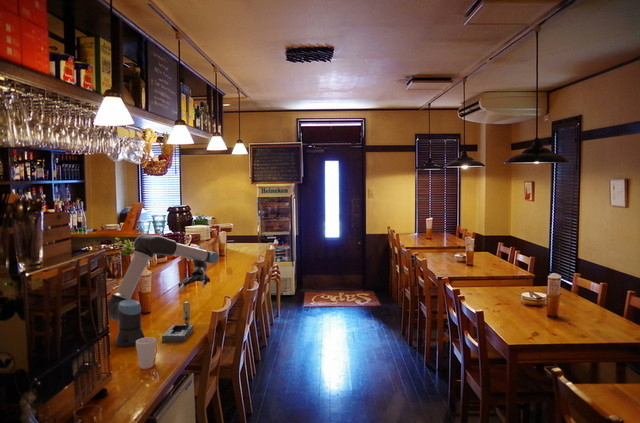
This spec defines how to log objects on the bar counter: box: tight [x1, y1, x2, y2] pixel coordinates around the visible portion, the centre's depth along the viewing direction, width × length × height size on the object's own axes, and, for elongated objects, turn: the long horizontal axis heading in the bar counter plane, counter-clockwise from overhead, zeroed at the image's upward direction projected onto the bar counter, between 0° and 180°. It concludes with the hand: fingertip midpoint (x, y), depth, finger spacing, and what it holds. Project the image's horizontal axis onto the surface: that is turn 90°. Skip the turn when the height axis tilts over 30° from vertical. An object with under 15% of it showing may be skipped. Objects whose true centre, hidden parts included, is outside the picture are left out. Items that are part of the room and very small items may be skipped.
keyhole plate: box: [161, 324, 194, 343], centre depth 262 cm, size 19×12×4 cm, turn 1°
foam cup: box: [135, 336, 157, 370], centre depth 219 cm, size 10×9×13 cm
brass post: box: [181, 300, 193, 325], centre depth 282 cm, size 6×6×15 cm
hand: (191, 288), depth 278 cm, fingers open, 13 cm apart
